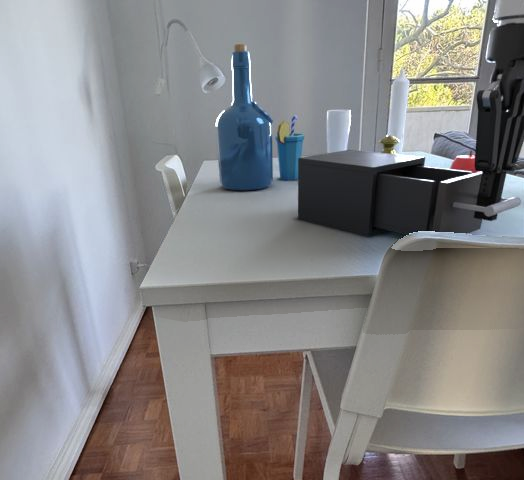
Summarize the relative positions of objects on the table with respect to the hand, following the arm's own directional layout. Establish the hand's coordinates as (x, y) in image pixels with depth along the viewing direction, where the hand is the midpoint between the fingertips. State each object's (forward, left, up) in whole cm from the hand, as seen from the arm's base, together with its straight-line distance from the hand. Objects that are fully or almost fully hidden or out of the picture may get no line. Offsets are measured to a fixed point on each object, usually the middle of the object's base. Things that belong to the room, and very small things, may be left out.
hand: (485, 218), depth 69 cm
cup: (+50, -47, -5) cm, 69 cm away
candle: (+28, -73, -5) cm, 78 cm away
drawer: (+7, -3, -3) cm, 9 cm away
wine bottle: (+56, -33, -5) cm, 65 cm away
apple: (+6, -46, -5) cm, 47 cm away
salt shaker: (+26, -54, -5) cm, 60 cm away
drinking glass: (+44, -69, -5) cm, 82 cm away
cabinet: (+22, -10, -4) cm, 24 cm away
